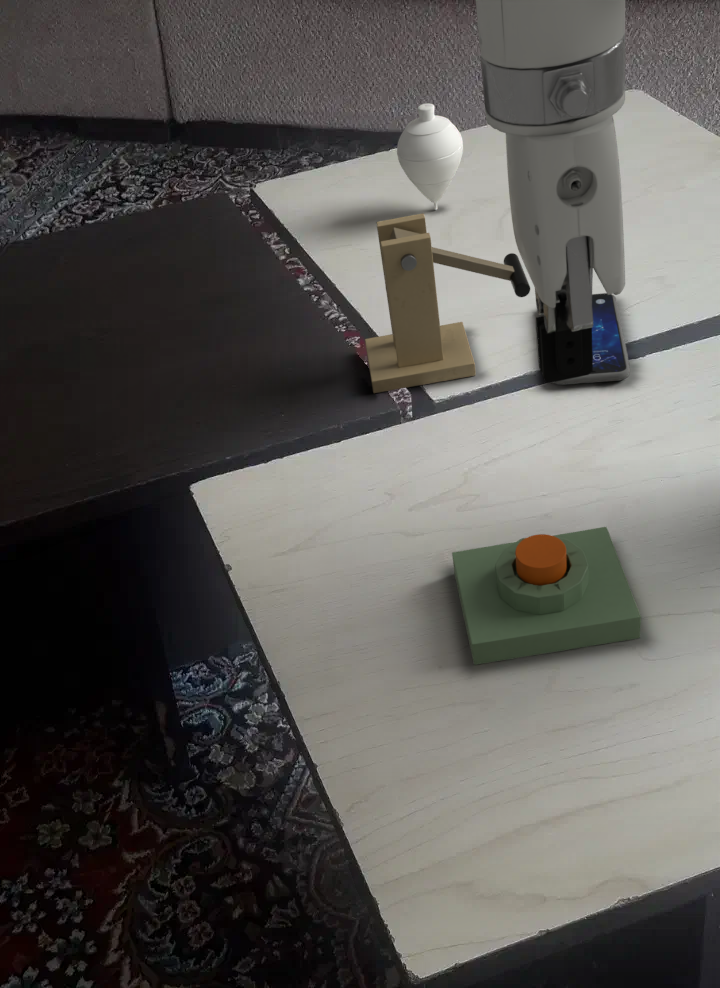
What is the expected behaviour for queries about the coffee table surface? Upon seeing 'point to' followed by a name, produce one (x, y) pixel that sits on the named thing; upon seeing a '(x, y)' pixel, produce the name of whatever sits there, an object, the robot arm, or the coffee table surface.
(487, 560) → the control block
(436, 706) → the coffee table surface
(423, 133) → the spinning top
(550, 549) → the button
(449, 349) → the lever bracket
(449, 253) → the press lever
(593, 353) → the smartphone
